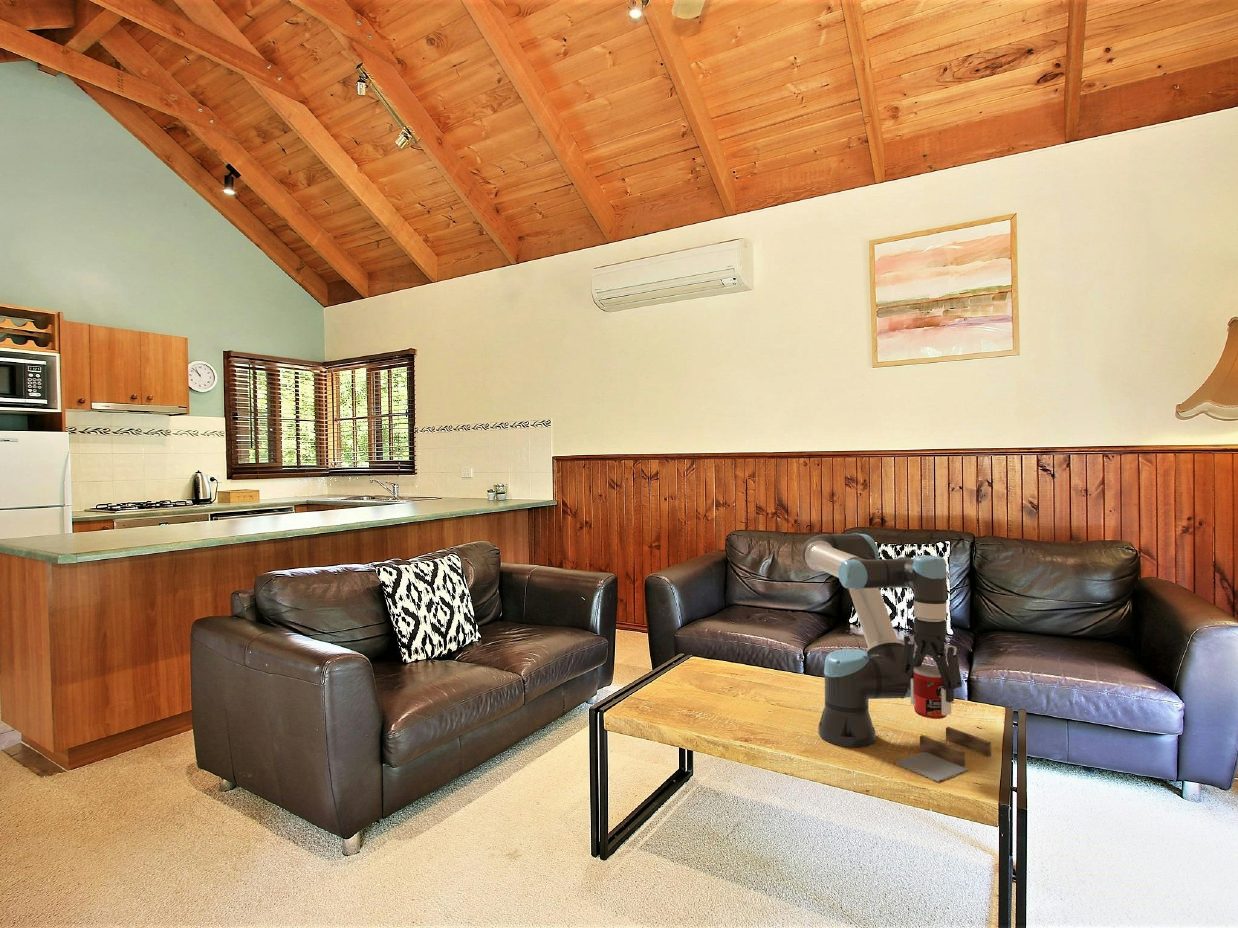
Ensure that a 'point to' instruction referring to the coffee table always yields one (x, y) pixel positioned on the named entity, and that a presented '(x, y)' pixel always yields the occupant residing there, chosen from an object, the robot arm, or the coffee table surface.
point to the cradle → (954, 753)
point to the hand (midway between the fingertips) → (930, 708)
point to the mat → (931, 766)
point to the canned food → (928, 692)
